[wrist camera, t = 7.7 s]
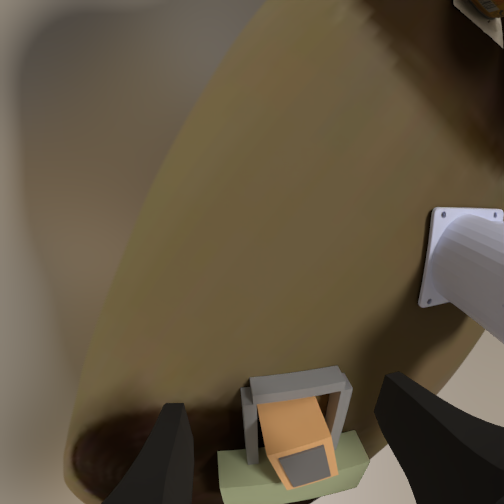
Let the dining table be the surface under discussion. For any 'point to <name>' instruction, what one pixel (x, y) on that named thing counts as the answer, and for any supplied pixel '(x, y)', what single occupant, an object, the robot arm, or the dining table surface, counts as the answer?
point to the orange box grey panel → (297, 441)
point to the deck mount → (255, 459)
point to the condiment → (484, 15)
